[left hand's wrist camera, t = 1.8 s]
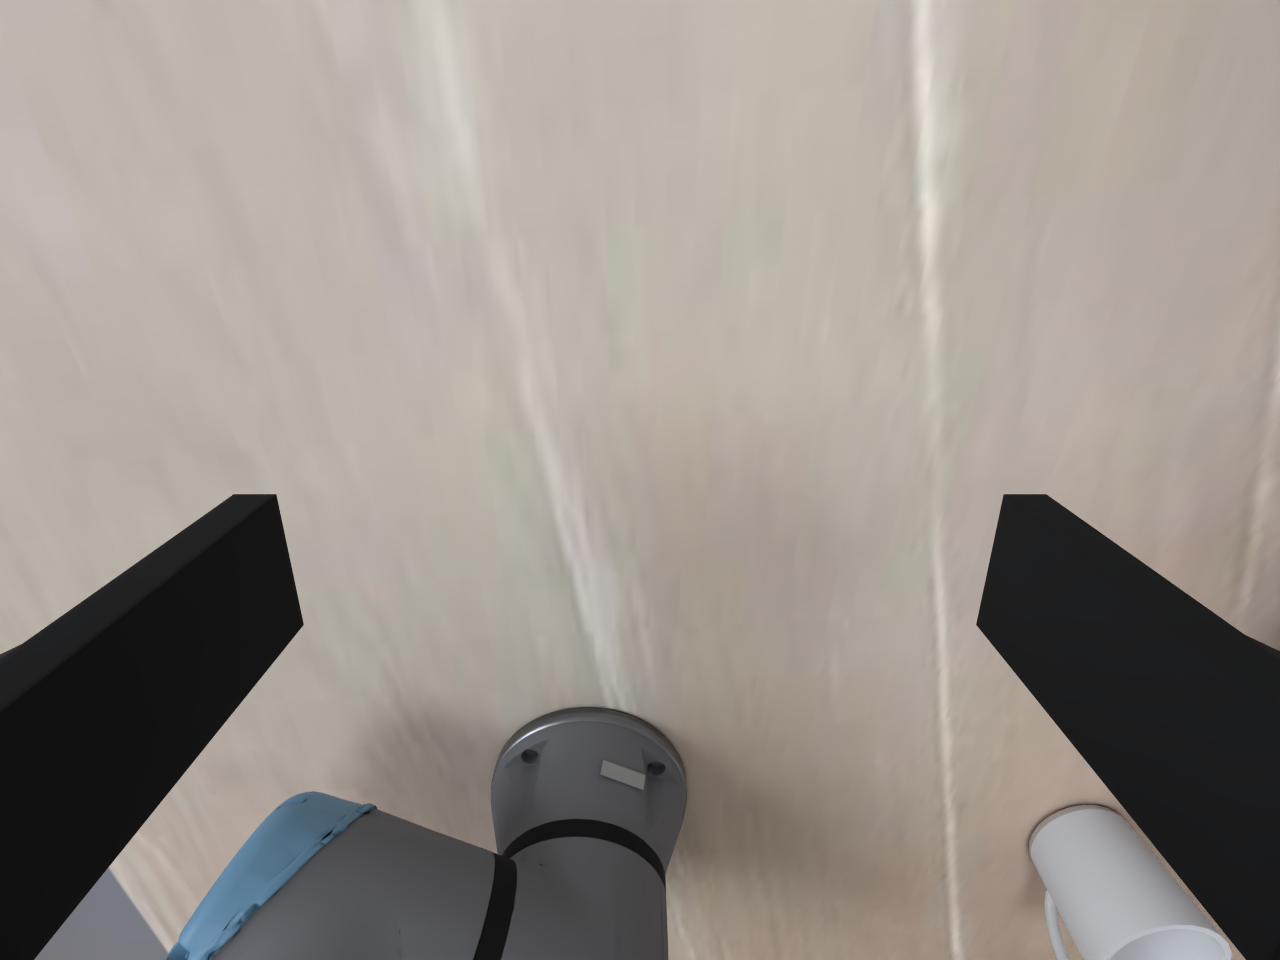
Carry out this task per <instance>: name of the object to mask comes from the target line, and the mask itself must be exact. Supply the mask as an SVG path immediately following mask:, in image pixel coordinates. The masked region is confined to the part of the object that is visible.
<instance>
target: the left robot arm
mask: <svg viewBox="0 0 1280 960" xmlns="http://www.w3.org/2000/svg"><path fill="white" fill-rule="evenodd" d="M303 625H304V624H303V619H302V614H301V610H300V605H299V600H298V595H297V591H296V586H295V581H294V576H293V572H292V567H291V562H290V557H289V553H288V548H287V543H286V538H285V534H284V529H283V524H282V519H281V515H280V510H279V505H278V500H277V496H276V494H234V495H232V496H231V497H229V498H228V499H227V500H225V501H224V502H222V503H221V504H220V505H218V506H217V507H215V508H214V509H212V510H211V511H210V512H208V513H207V514H205V515H204V516H203V517H201V518H200V519H198V520H197V521H195V522H194V523H193V524H191V525H190V526H188V527H187V528H186V529H184V530H183V531H181V532H180V533H179V534H177V535H176V536H174V537H173V538H171V539H170V540H169V541H167V542H166V543H164V544H163V545H162V546H160V547H159V548H157V549H156V550H154V551H153V552H152V553H150V554H149V555H147V556H146V557H145V558H143V559H142V560H140V561H139V562H138V563H136V564H135V565H133V566H132V567H130V568H129V569H128V570H126V571H125V572H123V573H122V574H121V575H119V576H118V577H116V578H115V579H113V580H112V581H111V582H109V583H108V584H106V585H105V586H104V587H102V588H101V589H99V590H98V591H97V592H95V593H94V594H92V595H91V596H89V597H88V598H87V599H85V600H84V601H82V602H81V603H80V604H78V605H77V606H75V607H74V608H72V609H71V610H70V611H68V612H67V613H65V614H64V615H63V616H61V617H60V618H58V619H57V620H56V621H54V622H53V623H51V624H50V625H48V626H47V627H46V628H44V629H43V630H41V631H40V632H39V633H37V634H36V635H34V636H33V637H31V638H30V639H29V640H27V641H26V642H24V643H23V644H21V645H19V646H17V647H15V648H13V649H11V650H9V651H7V652H4V653H2V654H0V960H34V959H35V958H36V956H37V955H38V954H39V953H40V951H41V950H42V949H43V948H44V946H45V945H46V944H47V943H48V942H49V940H50V939H51V938H52V937H53V935H54V934H55V933H56V932H57V930H58V929H59V928H60V927H61V925H62V924H63V923H64V922H65V920H66V919H67V918H68V917H69V915H70V914H71V913H72V912H73V910H74V909H75V908H76V907H77V906H78V904H79V903H80V902H81V900H82V899H83V898H84V897H85V896H86V894H87V893H88V892H89V891H90V889H91V888H92V887H93V886H94V884H95V883H96V882H97V881H98V879H99V878H100V877H101V876H102V874H103V873H104V872H105V871H106V870H107V868H108V867H109V866H110V865H111V863H112V862H113V861H114V860H115V858H116V857H117V856H118V855H119V853H120V852H121V851H122V850H123V848H124V847H125V846H126V845H127V843H128V842H129V841H130V840H131V838H132V837H133V836H134V835H135V834H136V832H137V831H138V830H139V829H140V827H141V826H142V825H143V824H144V822H145V821H146V820H147V819H148V817H149V816H150V815H151V814H152V812H153V811H154V810H155V809H156V807H157V806H158V805H159V804H160V802H161V801H162V800H163V799H164V798H165V796H166V795H167V794H168V793H169V791H170V790H171V789H172V788H173V786H174V785H175V784H176V783H177V781H178V780H179V779H180V778H181V776H182V775H183V774H184V773H185V771H186V770H187V769H188V768H189V766H190V765H191V764H192V763H193V761H194V760H195V759H196V758H197V757H198V755H199V754H200V753H201V752H202V750H203V749H204V748H205V747H206V745H207V744H208V743H209V742H210V740H211V739H212V738H213V737H214V735H215V734H216V733H217V732H218V730H219V729H220V728H221V727H222V725H223V724H224V723H225V722H226V721H227V719H228V718H229V717H230V716H231V714H232V713H233V712H234V711H235V709H236V708H237V707H238V706H239V704H240V703H241V702H242V701H243V699H244V698H245V697H246V696H247V694H248V693H249V692H250V691H251V689H252V688H253V687H254V686H255V685H256V683H257V682H258V681H259V680H260V678H261V677H262V676H263V675H264V673H265V672H266V671H267V670H268V668H269V667H270V666H271V665H272V663H273V662H274V661H275V660H276V658H277V657H278V656H279V655H280V653H281V652H282V651H283V650H284V649H285V647H286V646H287V645H288V644H289V642H290V641H291V640H292V639H293V637H294V636H295V635H296V634H297V632H298V631H299V630H300V629H301V627H302V626H303ZM976 625H977V626H978V627H979V629H980V630H981V631H982V632H983V634H984V635H985V636H986V637H987V639H988V640H989V641H990V642H991V644H992V645H993V646H994V647H995V649H996V650H997V651H998V652H999V653H1000V655H1001V656H1002V657H1003V658H1004V660H1005V661H1006V662H1007V663H1008V665H1009V666H1010V667H1011V668H1012V670H1013V671H1014V672H1015V673H1016V675H1017V676H1018V677H1019V678H1020V680H1021V681H1022V682H1023V683H1024V685H1025V686H1026V687H1027V688H1028V689H1029V691H1030V692H1031V693H1032V694H1033V696H1034V697H1035V698H1036V699H1037V701H1038V702H1039V703H1040V704H1041V706H1042V707H1043V708H1044V709H1045V711H1046V712H1047V713H1048V714H1049V716H1050V717H1051V718H1052V719H1053V721H1054V722H1055V723H1056V724H1057V725H1058V727H1059V728H1060V729H1061V730H1062V732H1063V733H1064V734H1065V735H1066V737H1067V738H1068V739H1069V740H1070V742H1071V743H1072V744H1073V745H1074V747H1075V748H1076V749H1077V750H1078V752H1079V753H1080V754H1081V755H1082V757H1083V758H1084V759H1085V760H1086V761H1087V763H1088V764H1089V765H1090V766H1091V768H1092V769H1093V770H1094V771H1095V773H1096V774H1097V775H1098V776H1099V778H1100V779H1101V780H1102V781H1103V783H1104V784H1105V785H1106V786H1107V788H1108V789H1109V790H1110V791H1111V793H1112V794H1113V795H1114V796H1115V798H1116V799H1117V800H1118V801H1119V802H1120V804H1121V805H1122V806H1123V807H1124V809H1125V810H1126V811H1127V812H1128V814H1129V815H1130V816H1131V817H1132V819H1133V820H1134V821H1135V822H1136V824H1137V825H1138V826H1139V827H1140V829H1141V830H1142V831H1143V832H1144V834H1145V835H1146V836H1147V837H1148V838H1149V840H1150V841H1151V842H1152V843H1153V845H1154V846H1155V847H1156V848H1157V850H1158V851H1159V852H1160V853H1161V855H1162V856H1163V857H1164V858H1165V860H1166V861H1167V862H1168V863H1169V865H1170V866H1171V867H1172V868H1173V870H1174V871H1175V872H1176V873H1177V874H1178V876H1179V877H1180V878H1181V879H1182V881H1183V882H1184V883H1185V884H1186V886H1187V887H1188V888H1189V889H1190V891H1191V892H1192V893H1193V894H1194V896H1195V897H1196V898H1197V899H1198V901H1199V902H1200V903H1201V904H1202V906H1203V907H1204V908H1205V909H1206V910H1207V912H1208V913H1209V914H1210V915H1211V917H1212V918H1213V919H1214V920H1215V922H1216V923H1217V924H1218V925H1219V927H1220V928H1221V929H1222V930H1223V932H1224V933H1225V934H1226V935H1227V937H1228V938H1229V939H1230V940H1231V942H1232V943H1233V944H1234V945H1235V947H1236V948H1237V949H1238V950H1239V951H1240V953H1241V954H1242V955H1243V956H1244V958H1245V959H1246V960H1280V651H1278V650H1276V649H1274V648H1271V647H1269V646H1267V645H1265V644H1263V643H1261V642H1259V641H1257V640H1255V639H1252V638H1250V637H1248V636H1246V635H1244V634H1243V633H1241V632H1240V631H1239V630H1237V629H1236V628H1234V627H1233V626H1232V625H1230V624H1229V623H1227V622H1226V621H1224V620H1223V619H1222V618H1220V617H1219V616H1217V615H1216V614H1215V613H1213V612H1212V611H1210V610H1209V609H1208V608H1206V607H1205V606H1203V605H1202V604H1200V603H1199V602H1198V601H1196V600H1195V599H1193V598H1192V597H1191V596H1189V595H1188V594H1186V593H1185V592H1183V591H1182V590H1181V589H1179V588H1178V587H1176V586H1175V585H1174V584H1172V583H1171V582H1169V581H1168V580H1167V579H1165V578H1164V577H1162V576H1161V575H1159V574H1158V573H1157V572H1155V571H1154V570H1152V569H1151V568H1150V567H1148V566H1147V565H1145V564H1144V563H1142V562H1141V561H1140V560H1138V559H1137V558H1135V557H1134V556H1133V555H1131V554H1130V553H1128V552H1127V551H1126V550H1124V549H1123V548H1121V547H1120V546H1118V545H1117V544H1116V543H1114V542H1113V541H1111V540H1110V539H1109V538H1107V537H1106V536H1104V535H1103V534H1101V533H1100V532H1099V531H1097V530H1096V529H1094V528H1093V527H1092V526H1090V525H1089V524H1087V523H1086V522H1085V521H1083V520H1082V519H1080V518H1079V517H1077V516H1076V515H1075V514H1073V513H1072V512H1070V511H1069V510H1068V509H1066V508H1065V507H1063V506H1062V505H1060V504H1059V503H1058V502H1056V501H1055V500H1053V499H1052V498H1051V497H1049V496H1048V495H1046V494H1004V496H1003V500H1002V505H1001V510H1000V515H999V519H998V524H997V529H996V534H995V538H994V543H993V548H992V553H991V557H990V562H989V567H988V572H987V576H986V581H985V586H984V591H983V595H982V600H981V605H980V610H979V614H978V619H977V624H976ZM686 799H687V798H686V778H685V771H684V768H683V764H682V762H681V759H680V757H679V755H678V753H677V751H676V750H675V749H674V747H673V746H672V744H671V743H670V742H669V741H668V740H667V739H666V738H665V737H664V736H663V735H662V734H661V733H660V732H659V731H657V730H656V729H655V728H653V727H652V726H650V725H649V724H647V723H645V722H643V721H641V720H639V719H637V718H635V717H633V716H630V715H628V714H624V713H621V712H617V711H613V710H608V709H601V708H573V709H566V710H561V711H557V712H553V713H550V714H547V715H544V716H542V717H539V718H537V719H535V720H533V721H532V722H530V723H528V724H526V725H525V726H524V727H522V728H521V729H520V730H518V731H517V732H516V733H515V734H514V735H513V736H512V737H511V738H510V739H509V740H508V742H507V743H506V745H505V746H504V747H503V749H502V751H501V753H500V755H499V758H498V760H497V764H496V768H495V772H494V775H493V779H492V787H491V807H492V815H493V822H494V830H495V837H496V845H497V852H498V854H495V853H493V852H491V851H488V850H486V849H483V848H480V847H477V846H474V845H472V844H469V843H466V842H463V841H460V840H458V839H455V838H452V837H449V836H447V835H444V834H441V833H438V832H435V831H433V830H430V829H427V828H425V827H422V826H419V825H417V824H414V823H412V822H409V821H406V820H404V819H401V818H399V817H396V816H393V815H391V814H388V813H385V812H383V811H380V810H378V809H377V807H376V806H375V805H373V804H364V805H362V804H358V803H354V802H351V801H347V800H344V799H340V798H337V797H334V796H331V795H328V794H324V793H320V792H305V793H301V794H298V795H295V796H293V797H291V798H289V799H288V800H286V801H285V802H283V803H282V804H281V805H280V806H278V807H277V808H276V809H275V810H274V811H273V812H272V813H271V814H270V815H269V816H268V817H267V818H266V819H265V820H264V821H263V822H262V823H261V825H260V826H259V827H258V828H257V829H256V830H255V831H254V833H253V834H252V835H251V836H250V838H249V839H248V840H247V841H246V843H245V844H244V845H243V846H242V848H241V849H240V850H239V851H238V853H237V854H236V855H235V856H234V858H233V859H232V860H231V862H230V863H229V864H228V866H227V867H226V868H225V870H224V871H223V872H222V874H221V875H220V877H219V878H218V879H217V881H216V882H215V883H214V885H213V886H212V888H211V889H210V890H209V892H208V893H207V895H206V896H205V897H204V899H203V900H202V902H201V903H200V905H199V906H198V908H197V909H196V911H195V912H194V913H193V915H192V916H191V918H190V920H189V921H188V923H187V924H186V926H185V927H184V929H183V930H182V932H181V934H180V937H179V941H178V942H177V943H176V944H175V945H174V946H173V948H172V949H171V951H170V953H169V954H168V956H167V958H166V959H165V960H668V936H667V909H666V882H665V874H666V871H667V868H668V865H669V862H670V858H671V855H672V852H673V849H674V846H675V843H676V840H677V837H678V834H679V831H680V828H681V825H682V822H683V818H684V814H685V807H686Z"/></svg>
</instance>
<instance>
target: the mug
mask: <svg viewBox="0 0 1280 960" xmlns="http://www.w3.org/2000/svg"><path fill="white" fill-rule="evenodd" d="M1029 855H1030V857H1031V859H1032V861H1033V863H1034V865H1035V867H1036V869H1037V871H1038V873H1039V875H1040V877H1041V879H1042V881H1043V883H1044V884H1045V886H1046V888H1047V891H1046V896H1045V903H1044V905H1045V915H1046V922H1047V927H1048V931H1049V936H1050V940H1051V944H1052V947H1053V950H1054V953H1055V956H1056V959H1057V960H1069V957H1068V954H1067V952H1066V949H1065V946H1064V943H1063V939H1062V935H1061V931H1060V928H1059V921H1058V914H1057V909H1058V911H1059V913H1060V915H1061V917H1062V919H1063V921H1064V923H1065V925H1066V927H1067V929H1068V931H1069V933H1070V934H1071V936H1072V938H1073V940H1074V942H1075V944H1076V946H1077V948H1078V950H1079V952H1080V954H1081V956H1082V958H1083V959H1084V960H1231V955H1232V953H1231V950H1230V947H1229V944H1228V942H1227V941H1226V940H1225V939H1224V937H1223V936H1222V935H1221V934H1220V933H1219V931H1218V930H1217V929H1216V928H1215V927H1214V925H1213V924H1212V923H1211V922H1210V921H1209V920H1208V918H1207V917H1206V916H1205V915H1204V914H1203V912H1202V911H1201V910H1200V909H1199V908H1198V906H1197V905H1196V904H1195V903H1194V902H1193V900H1192V899H1191V898H1190V897H1189V896H1188V894H1187V893H1186V892H1185V891H1184V890H1183V889H1182V887H1181V886H1180V885H1179V884H1178V883H1177V881H1176V880H1175V879H1174V878H1173V877H1172V875H1171V874H1170V873H1169V872H1168V871H1167V869H1166V868H1165V867H1164V866H1163V865H1162V864H1161V862H1160V861H1159V860H1158V859H1157V858H1156V856H1155V855H1154V854H1153V853H1152V852H1151V850H1150V849H1149V848H1148V847H1147V846H1146V844H1145V843H1144V842H1143V841H1142V840H1141V838H1140V837H1139V836H1138V835H1137V834H1136V833H1135V831H1134V830H1133V829H1132V828H1131V827H1130V825H1129V824H1128V823H1127V822H1126V821H1125V819H1124V818H1123V817H1122V816H1121V815H1120V814H1118V813H1116V812H1115V811H1113V810H1111V809H1109V808H1106V807H1102V806H1098V805H1078V806H1072V807H1068V808H1066V809H1063V810H1060V811H1057V812H1056V813H1054V814H1052V815H1050V816H1049V817H1047V818H1046V819H1045V820H1043V821H1042V822H1041V823H1040V824H1039V825H1038V826H1037V827H1036V829H1035V830H1034V832H1033V833H1032V835H1031V838H1030V841H1029Z"/></svg>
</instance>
